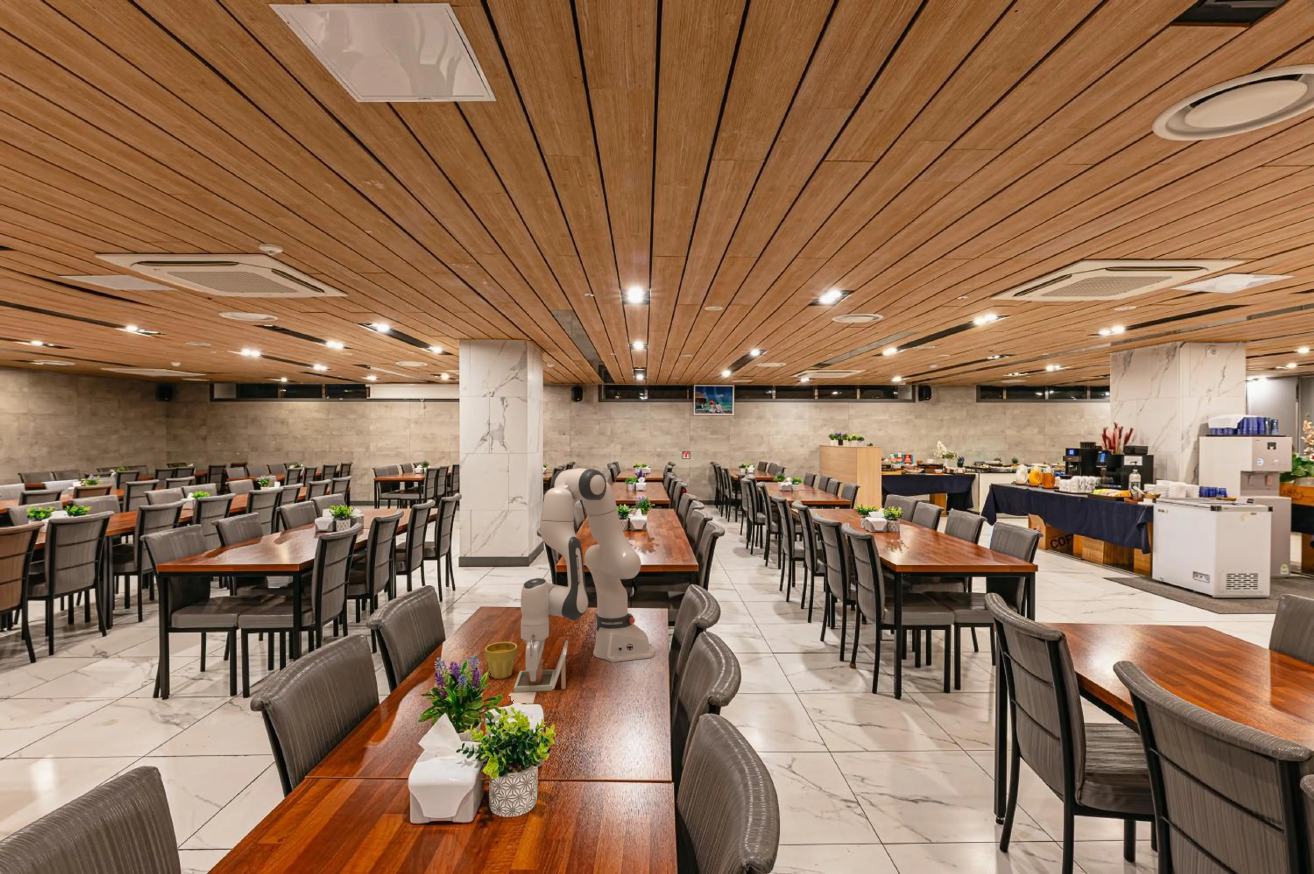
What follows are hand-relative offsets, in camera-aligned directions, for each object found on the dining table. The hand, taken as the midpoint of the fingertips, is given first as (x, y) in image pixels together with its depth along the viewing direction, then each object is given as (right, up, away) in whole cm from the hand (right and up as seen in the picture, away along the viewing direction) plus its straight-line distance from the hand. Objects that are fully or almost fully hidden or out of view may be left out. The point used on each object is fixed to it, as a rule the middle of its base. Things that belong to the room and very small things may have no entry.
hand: (535, 674), depth 194 cm
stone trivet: (-2, -3, -12) cm, 13 cm away
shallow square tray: (0, -3, 0) cm, 3 cm away
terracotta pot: (0, -2, 0) cm, 2 cm away
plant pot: (-13, -3, +7) cm, 15 cm away
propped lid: (+8, -3, +1) cm, 8 cm away
